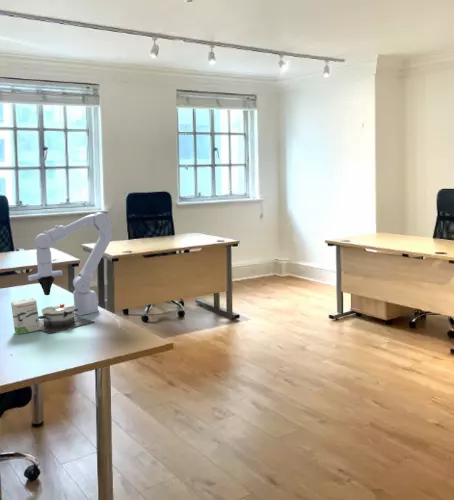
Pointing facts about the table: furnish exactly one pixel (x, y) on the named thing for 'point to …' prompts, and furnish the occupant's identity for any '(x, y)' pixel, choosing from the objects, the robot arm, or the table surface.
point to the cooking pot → (61, 322)
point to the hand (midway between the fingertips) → (47, 294)
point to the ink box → (25, 316)
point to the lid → (58, 310)
